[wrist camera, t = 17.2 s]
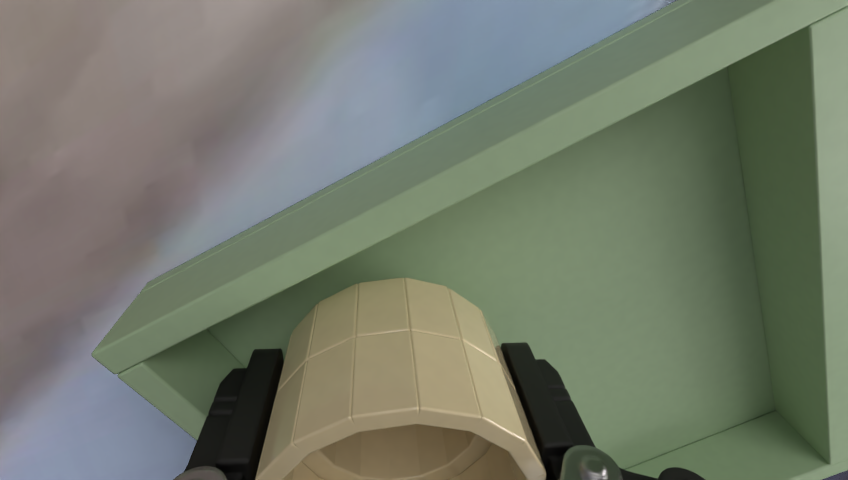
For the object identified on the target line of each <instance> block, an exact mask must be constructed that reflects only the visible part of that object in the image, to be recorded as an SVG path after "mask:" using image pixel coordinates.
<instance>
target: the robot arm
mask: <svg viewBox="0 0 848 480" xmlns="http://www.w3.org/2000/svg"><path fill="white" fill-rule="evenodd" d="M500 348H501V351H502V353H503V356H504V359H505V361H506V364H507V367H508V370H509V372H510V375H511V378H512V381H513V383H514V386H515V389H516V392H517V394H518V397H519V399H520V402H521V405H522V407H523V410H524V413H525V416H526V418H527V421H528V424H529V426H530V429H531V432H532V435H533V437H534V440H535V443H536V445H537V448H538V451H539V454H540V456H541V459H542V462H543V464H544V467H545V470H546V480H705V479H704V478H702V477H701V476H699V475H698V474H696V473H694V472H692V471H690V470H687V469H684V468H679V467H671V468H667V469H665V470H663V471H662V472H661V473H660V475H659V477H658V479H657V478H653V477H649V476H645V475H641V474H637V473H633V472H630V471H626V470H624V469H621V468H619V467H618V465H617V464H616V462H615V461H614V460H613V459H612V458H611V457H610V456H609V455H607V454H606V453H605V452H603V451H601V450H600V449H597V448H596V447H595V445H594V443H593V441H592V439H591V437H590V435H589V433H588V431H587V429H586V427H585V425H584V423H583V421H582V419H581V417H580V415H579V413H578V411H577V409H576V407H575V405H574V403H573V401H571V397H570V395H569V393H568V391H567V389H565V385H564V383H563V381H562V379H561V377H560V375H559V373H558V371H557V370H556V369H555V368H554V367H553V366H552V365H551V364H550V363H549V362H547V361H546V360H545V359H535V357H534V355H533V353H532V351H531V349H530V346H529V345H528V343H526V342H520V343H502V344H501V347H500ZM283 364H284V359H283V352H282V349H281V348H279V349H254V350H253V352H252V355H251V358H250V361H249V364H248V367H247V368H235V369H233V370H232V371H231V372H230V373H229V374H228V375H227V376H226V377H225V378H224V379H223V380H222V381H221V383H220V385H219V387H218V390H217V392H216V395H215V397H214V402H212V405H211V407H210V410H209V414H208V416H207V417H206V420H205V422H204V425H203V427H202V430H201V432H200V435H199V437H198V440H197V443H196V445H195V448H194V450H193V453H192V455H191V458H190V460H189V463H188V465H187V467H186V469H185V471H184V472H183V473H182V474H180V475H179V476H177V477H176V478H175V479H173V480H255V478H256V474H257V470H258V466H259V462H260V457H261V453H262V449H263V445H264V441H265V437H266V433H267V429H268V425H269V421H270V417H271V413H272V409H273V405H274V401H275V396H276V393H277V388H278V384H279V380H280V376H281V372H282V368H283Z"/></svg>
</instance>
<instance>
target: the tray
mask: <svg viewBox="0 0 848 480" xmlns="http://www.w3.org/2000/svg"><path fill="white" fill-rule="evenodd" d="M847 5H848V0H677V1H675V2H673V3H671V4H669V5H668V6H666V7H664V8H662V9H660V10H658V11H656V12H654V13H653V14H651V15H649V16H647V17H645V18H643V19H641V20H639V21H637V22H636V23H634V24H632V25H630V26H628V27H626V28H624V29H622V30H621V31H619V32H617V33H615V34H613V35H611V36H609V37H607V38H606V39H604V40H602V41H600V42H598V43H596V44H594V45H592V46H591V47H589V48H587V49H585V50H583V51H581V52H579V53H577V54H576V55H574V56H572V57H570V58H568V59H566V60H564V61H562V62H561V63H559V64H557V65H555V66H553V67H551V68H549V69H547V70H546V71H544V72H542V73H540V74H538V75H536V76H534V77H532V78H531V79H529V80H527V81H525V82H523V83H521V84H519V85H517V86H516V87H514V88H512V89H510V90H508V91H506V92H504V93H502V94H501V95H499V96H497V97H495V98H493V99H491V100H489V101H487V102H486V103H484V104H482V105H480V106H478V107H476V108H474V109H472V110H471V111H469V112H467V113H465V114H463V115H461V116H459V117H457V118H456V119H454V120H452V121H450V122H448V123H446V124H444V125H442V126H441V127H439V128H437V129H435V130H433V131H431V132H429V133H427V134H426V135H424V136H422V137H420V138H418V139H416V140H414V141H412V142H411V143H409V144H407V145H405V146H403V147H401V148H399V149H397V150H396V151H394V152H392V153H390V154H388V155H386V156H384V157H382V158H380V159H379V160H377V161H375V162H373V163H371V164H369V165H367V166H365V167H364V168H362V169H360V170H358V171H356V172H354V173H352V174H350V175H349V176H347V177H345V178H343V179H341V180H339V181H337V182H335V183H334V184H332V185H330V186H328V187H326V188H324V189H322V190H320V191H319V192H317V193H315V194H313V195H311V196H309V197H307V198H305V199H304V200H302V201H300V202H298V203H296V204H294V205H292V206H290V207H289V208H287V209H285V210H283V211H281V212H279V213H277V214H275V215H274V216H272V217H270V218H268V219H266V220H264V221H262V222H260V223H259V224H257V225H255V226H253V227H251V228H249V229H247V230H245V231H244V232H242V233H240V234H238V235H236V236H234V237H232V238H230V239H229V240H227V241H225V242H223V243H221V244H219V245H217V246H215V247H214V248H212V249H210V250H208V251H206V252H204V253H202V254H200V255H199V256H197V257H195V258H193V259H191V260H189V261H187V262H185V263H184V264H182V265H180V266H178V267H176V268H174V269H172V270H170V271H169V272H167V273H165V274H163V275H161V276H159V277H157V278H155V279H154V280H152V281H150V282H148V283H147V284H146V286H145V287H144V288H143V289H142V291H141V292H140V294H139V295H138V296H137V297H136V298H135V300H134V301H133V302H132V303H131V305H130V306H129V307H128V308H127V310H126V311H125V312H124V313H123V315H122V316H121V317H120V318H119V320H118V321H117V322H116V323H115V325H114V326H113V327H112V328H111V330H110V331H109V332H108V333H107V335H106V336H105V337H104V338H103V340H102V341H101V342H100V344H99V345H98V346H97V347H96V349H95V350H94V351H93V352H92V357H93V358H95V359H96V360H97V361H98V362H100V363H101V364H102V365H103V366H105V367H106V368H107V369H108V370H110V371H111V372H112V373H113V374H118V373H119V374H118V377H119V378H120V379H121V380H122V381H123V382H125V383H126V384H127V385H128V386H130V387H131V388H132V389H133V390H135V391H136V392H137V393H138V394H140V395H141V396H142V397H143V398H145V399H146V400H147V401H148V402H149V403H151V404H152V405H153V406H154V407H156V408H157V409H158V410H159V411H161V412H162V413H163V414H164V415H166V416H167V417H168V418H169V419H171V420H172V421H173V422H174V423H176V424H177V425H178V426H179V427H181V428H182V429H183V430H184V431H186V432H187V433H188V434H189V435H191V436H192V437H193V438H194V439H196V440H198V437H199V435H200V432H201V430H202V427H203V425H204V422H205V420H206V417H207V416H208V414H209V410H210V407H211V405H212V402H214V397H215V395H216V392H217V390H218V387H219V385H220V383H221V381H222V380H223V379H224V378H225V377H226V376H227V375H228V374H229V373H230V372H231V371H232V370H233V369H235V368H247V367H248V364H249V361H250V358H251V355H252V352H253V350H254V349H279V348H281V349H282V352H283V359H284V360H285V356H286V352H287V348H288V344H289V340H290V336H291V334H292V332H293V330H294V329H295V328H296V327H297V325H298V324H299V323H300V322H301V321H302V320H303V319H304V317H305V316H306V315H307V314H308V313H309V312H310V311H311V310H312V308H313V307H314V306H315V305H316V304H318V303H319V302H320V301H321V300H324V299H326V298H328V297H330V296H332V295H334V294H336V293H338V292H340V291H342V290H344V289H346V288H348V287H350V286H352V285H354V284H356V283H357V284H359V283H360V282H368V281H376V280H385V279H393V278H401V277H402V278H405V277H407V278H412V279H416V280H421V281H425V282H430V283H434V284H439V285H444V286H447V288H450V289H451V290H453V291H454V292H456V293H457V294H459V295H460V296H462V297H463V298H465V299H466V300H468V301H469V302H471V303H472V304H474V305H475V306H477V307H478V308H479V309H480V310H481V311H482V312H483V314H484V316H485V317H486V319H487V321H488V323H489V324H490V326H491V328H492V330H493V331H494V333H495V335H496V337H497V340H498V342H499V345H500V347H501V344H502V343H520V342H526V343H528V345H529V346H530V349H531V351H532V353H533V355H534V357H535V359H545V360H546V361H547V362H549V363H550V364H551V365H552V366H553V367H554V368H555V369H556V370H557V371H558V373H559V375H560V377H561V379H562V381H563V383H564V385H565V389H567V391H568V393H569V395H570V397H571V401H573V403H574V405H575V407H576V409H577V411H578V413H579V415H580V417H581V419H582V421H583V423H584V425H585V427H586V429H587V431H588V433H589V435H590V437H591V439H592V441H593V443H594V445H595V447H596V448H597V449H600V450H601V451H603V452H605V453H606V454H607V455H609V456H610V457H611V458H612V459H613V460H614V461H615V462H616V464H617V465H618V467H619V468H621V469H624V470H626V471H630V472H633V473H637V474H641V475H645V476H649V477H653V478H657V479H658V477H659V475H660V473H661V472H662V471H663V470H665V469H667V468H671V467H679V468H684V469H687V470H690V471H692V472H694V473H696V474H698V475H699V476H701V477H702V478H704V479H705V480H822V479H824V478H827V477H830V476H833V475H835V474H838V473H841V472H844V471H846V470H848V6H847Z"/></svg>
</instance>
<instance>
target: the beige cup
mask: <svg viewBox="0 0 848 480" xmlns="http://www.w3.org/2000/svg"><path fill="white" fill-rule="evenodd" d="M255 480H546V470H545V467H544V464H543V462H542V459H541V456H540V454H539V451H538V448H537V445H536V443H535V440H534V437H533V435H532V432H531V429H530V426H529V424H528V421H527V418H526V416H525V413H524V410H523V407H522V405H521V402H520V399H519V397H518V394H517V392H516V389H515V386H514V383H513V381H512V378H511V375H510V372H509V370H508V367H507V364H506V361H505V359H504V356H503V353H502V351H501V348H500V345H499V342H498V340H497V337H496V335H495V333H494V331H493V330H492V328H491V326H490V324H489V323H488V321H487V319H486V317H485V316H484V314H483V312H482V311H481V310H480V309H479V308H478V307H477V306H475V305H474V304H472V303H471V302H469V301H468V300H466V299H465V298H463V297H462V296H460V295H459V294H457V293H456V292H454V291H453V290H451V289H450V288H447V286H444V285H439V284H434V283H430V282H425V281H421V280H416V279H412V278H407V277H405V278H402V277H401V278H393V279H385V280H376V281H368V282H360V283H359V284H357V283H356V284H354V285H352V286H350V287H348V288H346V289H344V290H342V291H340V292H338V293H336V294H334V295H332V296H330V297H328V298H326V299H324V300H321V301H320V302H319V303H318V304H316V305H315V306H314V307H313V308H312V310H311V311H310V312H309V313H308V314H307V315H306V316H305V317H304V319H303V320H302V321H301V322H300V323H299V324H298V325H297V327H296V328H295V329H294V330H293V332H292V334H291V336H290V340H289V344H288V348H287V352H286V356H285V360H284V364H283V368H282V372H281V376H280V380H279V384H278V388H277V393H276V396H275V401H274V405H273V409H272V413H271V417H270V421H269V425H268V429H267V433H266V437H265V441H264V445H263V449H262V453H261V457H260V462H259V466H258V470H257V474H256V478H255Z"/></svg>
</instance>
